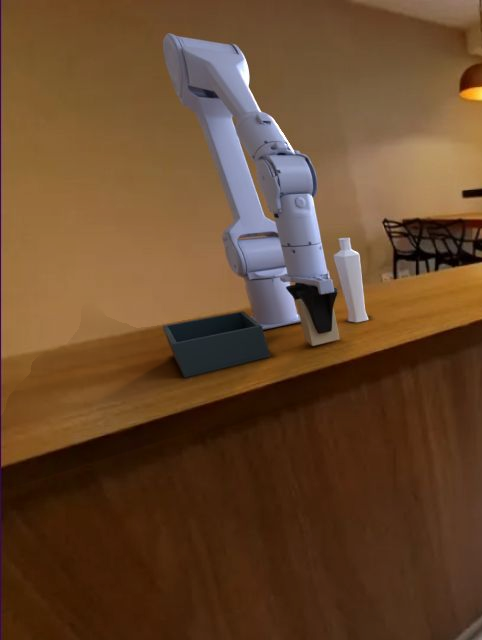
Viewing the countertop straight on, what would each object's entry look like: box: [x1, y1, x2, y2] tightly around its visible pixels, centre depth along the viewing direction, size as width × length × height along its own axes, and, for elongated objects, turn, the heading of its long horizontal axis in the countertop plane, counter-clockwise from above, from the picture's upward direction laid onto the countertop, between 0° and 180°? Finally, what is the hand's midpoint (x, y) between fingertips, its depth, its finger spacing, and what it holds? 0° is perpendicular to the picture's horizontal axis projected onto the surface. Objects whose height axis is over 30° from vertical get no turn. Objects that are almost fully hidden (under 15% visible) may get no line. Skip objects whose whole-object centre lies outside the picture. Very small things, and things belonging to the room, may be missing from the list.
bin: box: [162, 310, 271, 379], centre depth 67 cm, size 11×11×5 cm
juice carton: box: [295, 299, 341, 347], centre depth 71 cm, size 4×4×9 cm
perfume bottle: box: [333, 237, 370, 324], centre depth 81 cm, size 5×4×15 cm
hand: (320, 329), depth 72 cm, fingers closed on juice carton, 3 cm apart
